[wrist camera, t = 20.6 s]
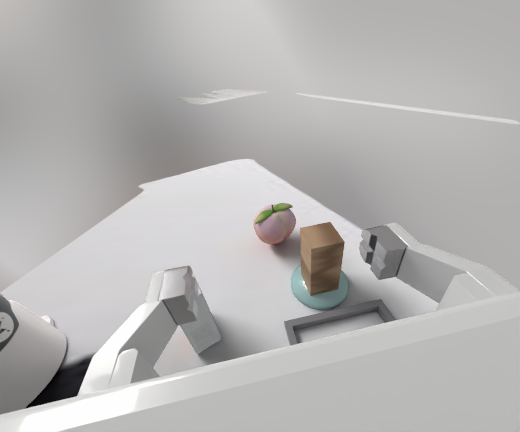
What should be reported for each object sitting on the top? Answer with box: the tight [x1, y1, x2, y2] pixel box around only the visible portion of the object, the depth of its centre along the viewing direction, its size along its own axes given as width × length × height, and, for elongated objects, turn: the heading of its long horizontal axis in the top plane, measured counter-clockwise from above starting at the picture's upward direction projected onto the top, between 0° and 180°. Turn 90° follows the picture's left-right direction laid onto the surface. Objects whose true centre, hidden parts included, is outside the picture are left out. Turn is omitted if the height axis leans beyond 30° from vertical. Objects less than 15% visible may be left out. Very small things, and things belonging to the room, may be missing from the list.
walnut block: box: [300, 222, 344, 296], centre depth 39 cm, size 5×5×11 cm
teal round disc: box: [291, 265, 349, 310], centre depth 42 cm, size 10×10×1 cm
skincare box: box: [180, 273, 222, 354], centre depth 34 cm, size 6×4×12 cm
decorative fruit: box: [254, 203, 296, 244], centre depth 51 cm, size 9×8×10 cm
